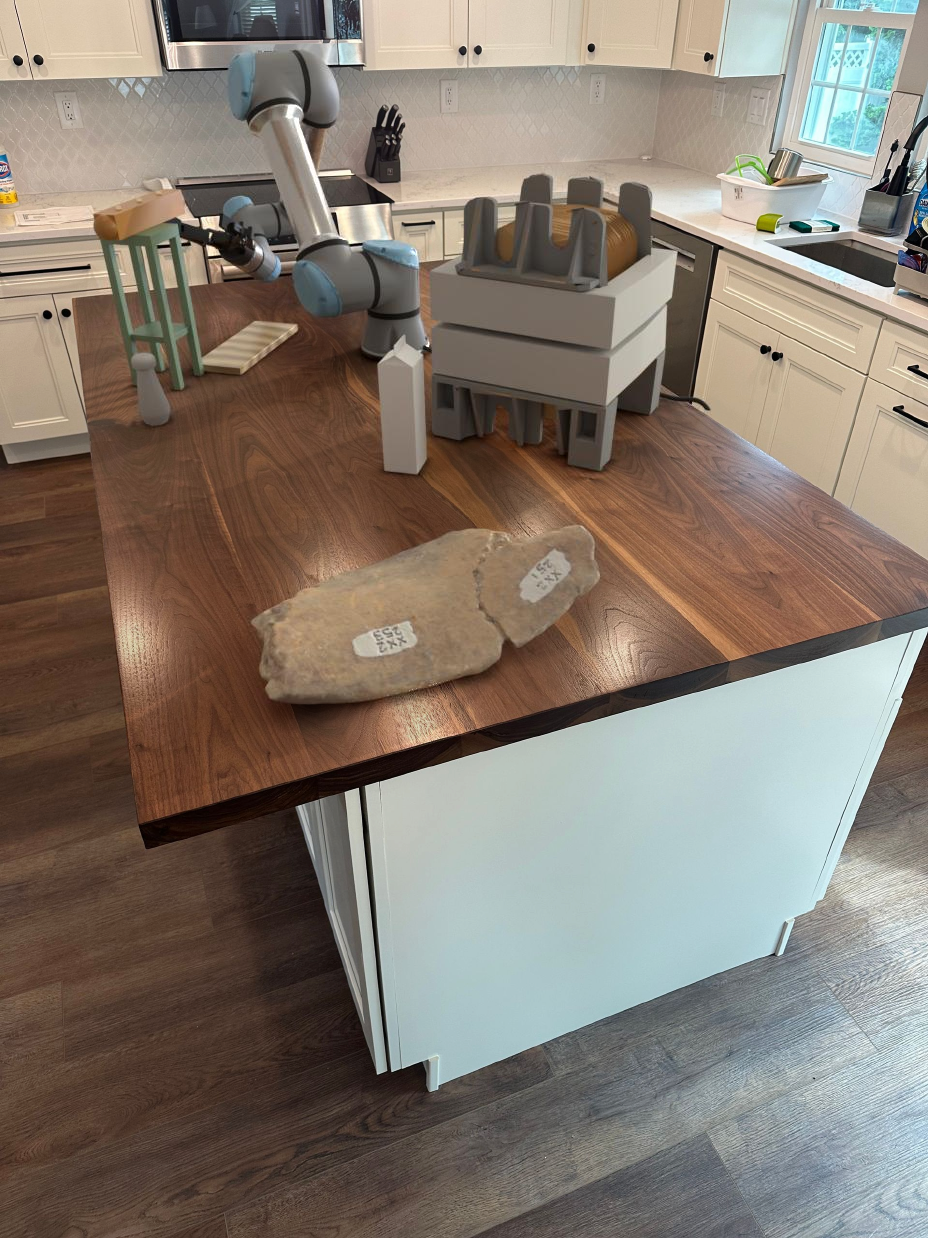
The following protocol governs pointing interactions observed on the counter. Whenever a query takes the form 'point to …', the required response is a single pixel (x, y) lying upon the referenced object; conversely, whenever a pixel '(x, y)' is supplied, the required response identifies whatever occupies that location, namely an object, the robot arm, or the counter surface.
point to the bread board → (247, 347)
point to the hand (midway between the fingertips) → (191, 217)
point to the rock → (421, 615)
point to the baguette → (138, 214)
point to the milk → (402, 409)
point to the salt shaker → (150, 391)
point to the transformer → (551, 318)
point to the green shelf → (154, 329)
